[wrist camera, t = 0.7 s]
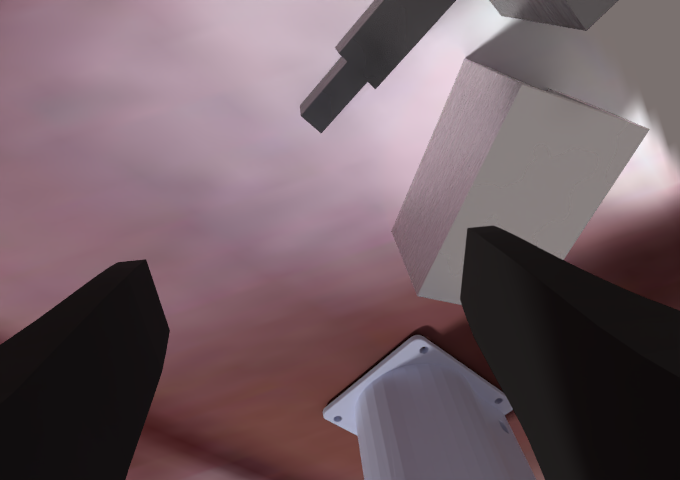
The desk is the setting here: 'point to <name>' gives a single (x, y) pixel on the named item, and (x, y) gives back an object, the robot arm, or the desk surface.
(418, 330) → the desk surface
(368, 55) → the coupler
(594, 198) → the lock
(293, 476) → the desk surface
